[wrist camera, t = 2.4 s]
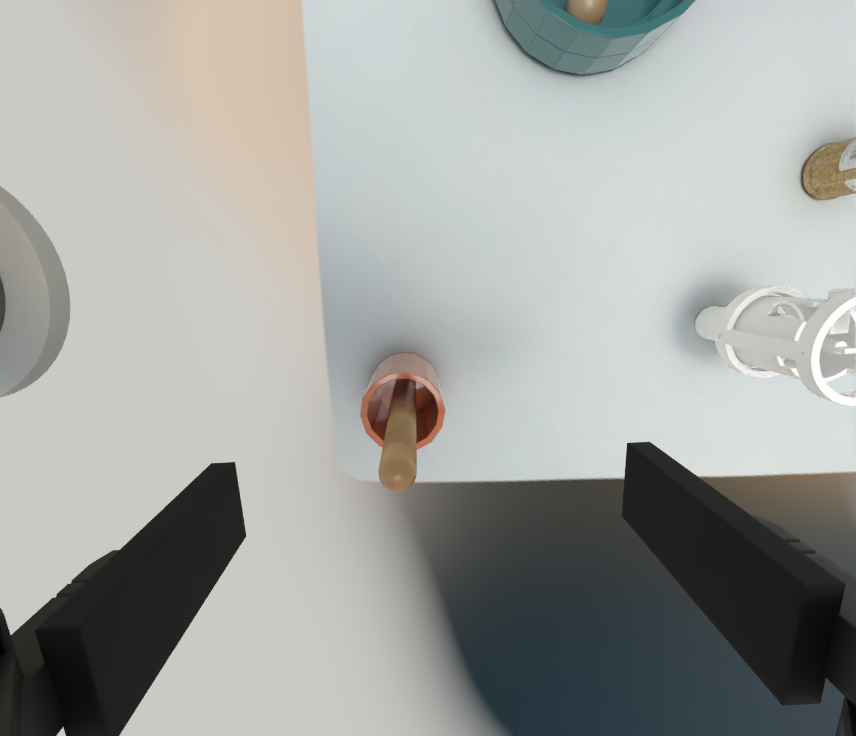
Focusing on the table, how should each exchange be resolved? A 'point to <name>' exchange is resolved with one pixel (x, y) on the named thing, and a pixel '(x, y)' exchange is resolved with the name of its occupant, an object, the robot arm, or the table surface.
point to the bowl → (588, 31)
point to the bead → (587, 10)
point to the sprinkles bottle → (832, 171)
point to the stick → (400, 439)
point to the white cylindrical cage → (787, 336)
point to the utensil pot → (382, 390)
